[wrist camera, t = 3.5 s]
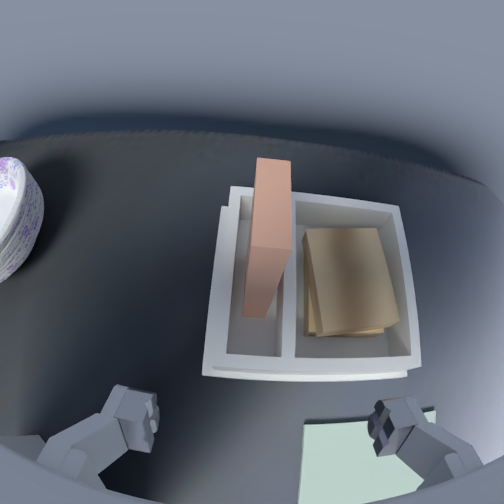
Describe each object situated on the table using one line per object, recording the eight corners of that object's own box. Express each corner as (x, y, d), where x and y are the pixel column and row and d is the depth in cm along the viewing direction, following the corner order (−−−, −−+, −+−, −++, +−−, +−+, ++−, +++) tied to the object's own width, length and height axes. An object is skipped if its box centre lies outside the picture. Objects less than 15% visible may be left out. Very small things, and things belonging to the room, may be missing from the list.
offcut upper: (368, 238, 29) (376, 227, 27) (389, 326, 25) (400, 320, 23) (301, 240, 28) (306, 229, 26) (316, 337, 24) (323, 331, 22)
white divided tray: (386, 228, 33) (405, 203, 29) (401, 377, 25) (430, 370, 21) (221, 211, 32) (220, 181, 28) (202, 375, 25) (196, 370, 20)
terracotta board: (267, 257, 29) (290, 161, 18) (264, 317, 26) (291, 249, 15) (246, 255, 29) (257, 157, 18) (242, 316, 26) (251, 245, 15)
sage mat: (432, 410, 23) (435, 410, 23) (419, 525, 17) (422, 526, 17) (303, 424, 23) (304, 424, 23) (291, 551, 17) (292, 553, 16)
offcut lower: (367, 252, 30) (375, 242, 28) (374, 337, 26) (384, 332, 24) (303, 246, 30) (307, 236, 28) (303, 336, 26) (308, 331, 24)
